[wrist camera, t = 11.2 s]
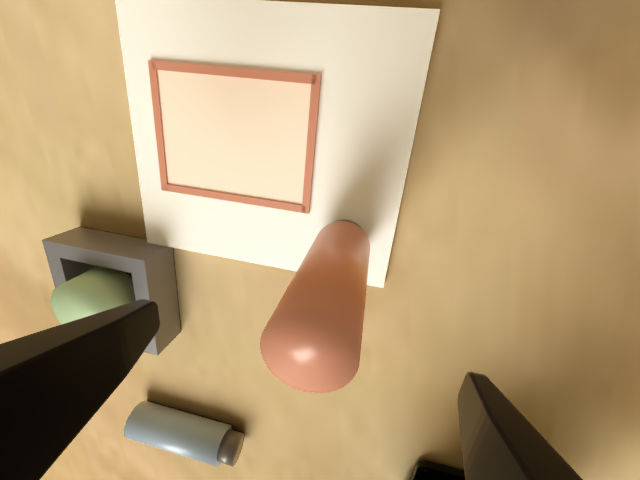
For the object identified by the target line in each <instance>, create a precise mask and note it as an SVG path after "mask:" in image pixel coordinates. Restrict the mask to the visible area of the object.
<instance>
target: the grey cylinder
mask: <svg viewBox="0 0 640 480" xmlns="http://www.w3.org/2000/svg"><path fill="white" fill-rule="evenodd" d="M124 436H125V437H126V438H127V439H130V440H133V441H137V442H140V443H143V444H146V445H149V446H153V447H156V448H159V449H162V450H165V451H169V452H172V453H175V454H178V455H181V456H185V457H188V458H191V459H194V460H197V461H201V462H204V463H207V464H210V465H213V466H218V465H219V464H220V463H224V464H227V465H230V466H234V465H235V463H236V462H237V460H238V457H239V455H240V452H241V449H242V446H243V442H244V433H240V432H237V431H233V430H231V425H229V424H225V423H222V422H218V421H215V420H211V419H208V418H204V417H201V416H197V415H194V414H190V413H187V412H183V411H180V410H176V409H173V408H169V407H166V406H162V405H159V404H155V403H152V402H149V401H143V402H141V403H139V404H138V405H137V406H136V407H135V408H134V410H133V411H132V412H131V414H130V416H129V417H128V419H127V422H126V425H125V428H124Z"/></svg>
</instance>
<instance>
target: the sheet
mask: <svg viewBox="0 0 640 480" xmlns="http://www.w3.org/2000/svg"><path fill="white" fill-rule="evenodd" d="M115 3H116V11H117V18H118V26H119V33H120V41H121V48H122V56H123V63H124V71H125V78H126V86H127V93H128V101H129V108H130V116H131V123H132V131H133V139H134V146H135V154H136V161H137V169H138V176H139V184H140V191H141V199H142V206H143V214H144V221H145V229H146V236H147V243H152V244H157V245H162V246H167V247H173V248H178V249H183V250H188V251H193V252H199V253H204V254H209V255H214V256H219V257H225V258H230V259H235V260H240V261H245V262H251V263H256V264H261V265H266V266H272V267H277V268H282V269H287V270H292V271H297V270H298V269H299V267H300V265H301V263H302V262H303V260H304V258H305V256H306V254H307V253H308V251H309V249H310V247H311V246H312V244H313V242H314V240H315V239H316V237H317V235H318V233H319V232H320V230H321V229H322V228H323V227H325V226H326V225H328V224H330V223H332V222H336V221H338V220H350V221H353V222H355V223H357V224H358V225H359V226H360V227H361V228H362V230H363V231H364V232H365V233H366V235H367V237H368V239H369V242H370V256H369V266H368V277H367V285H370V286H376V287H381V288H383V287H384V282H385V277H386V272H387V267H388V262H389V257H390V253H391V248H392V243H393V238H394V233H395V228H396V223H397V218H398V214H399V209H400V204H401V199H402V194H403V189H404V184H405V179H406V174H407V170H408V165H409V160H410V155H411V150H412V145H413V140H414V135H415V131H416V126H417V121H418V116H419V111H420V106H421V101H422V96H423V92H424V87H425V82H426V77H427V72H428V67H429V62H430V57H431V52H432V48H433V43H434V38H435V33H436V28H437V23H438V18H439V13H440V9H427V8H407V7H386V6H366V5H346V4H325V3H305V2H285V1H265V0H115Z"/></svg>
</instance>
